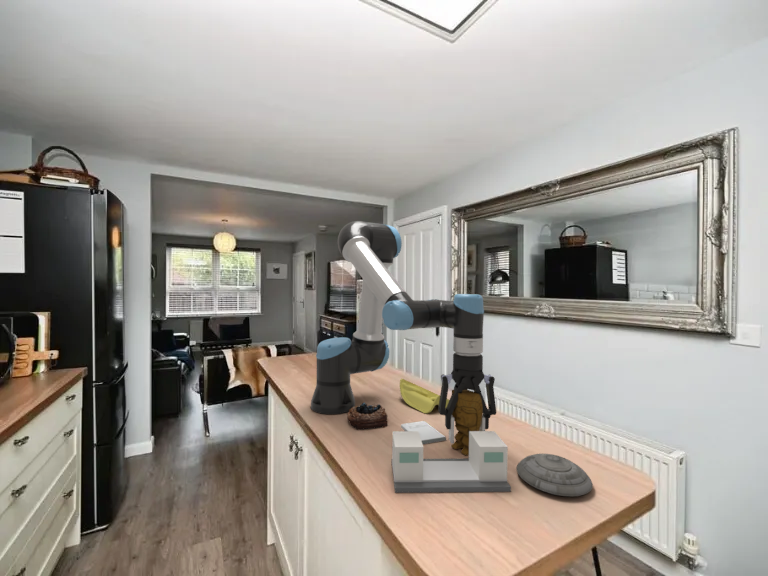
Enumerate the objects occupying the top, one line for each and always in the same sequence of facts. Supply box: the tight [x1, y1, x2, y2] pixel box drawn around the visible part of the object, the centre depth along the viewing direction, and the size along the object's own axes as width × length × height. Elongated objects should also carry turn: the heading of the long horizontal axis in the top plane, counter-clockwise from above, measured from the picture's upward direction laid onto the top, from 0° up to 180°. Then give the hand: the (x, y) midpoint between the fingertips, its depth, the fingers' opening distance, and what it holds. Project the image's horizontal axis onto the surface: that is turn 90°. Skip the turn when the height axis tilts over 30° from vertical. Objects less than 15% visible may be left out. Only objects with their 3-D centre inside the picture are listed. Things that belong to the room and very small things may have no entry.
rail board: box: [391, 430, 512, 494], centre depth 78 cm, size 12×24×8 cm, turn 92°
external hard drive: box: [400, 420, 447, 445], centre depth 101 cm, size 2×8×12 cm
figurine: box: [450, 389, 483, 456], centre depth 91 cm, size 7×7×15 cm
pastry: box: [346, 402, 389, 431], centre depth 108 cm, size 11×12×6 cm
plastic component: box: [399, 378, 450, 415], centre depth 127 cm, size 20×7×10 cm
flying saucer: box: [515, 453, 594, 497], centre depth 77 cm, size 15×15×6 cm
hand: (466, 440), depth 91 cm, fingers closed on figurine, 7 cm apart
